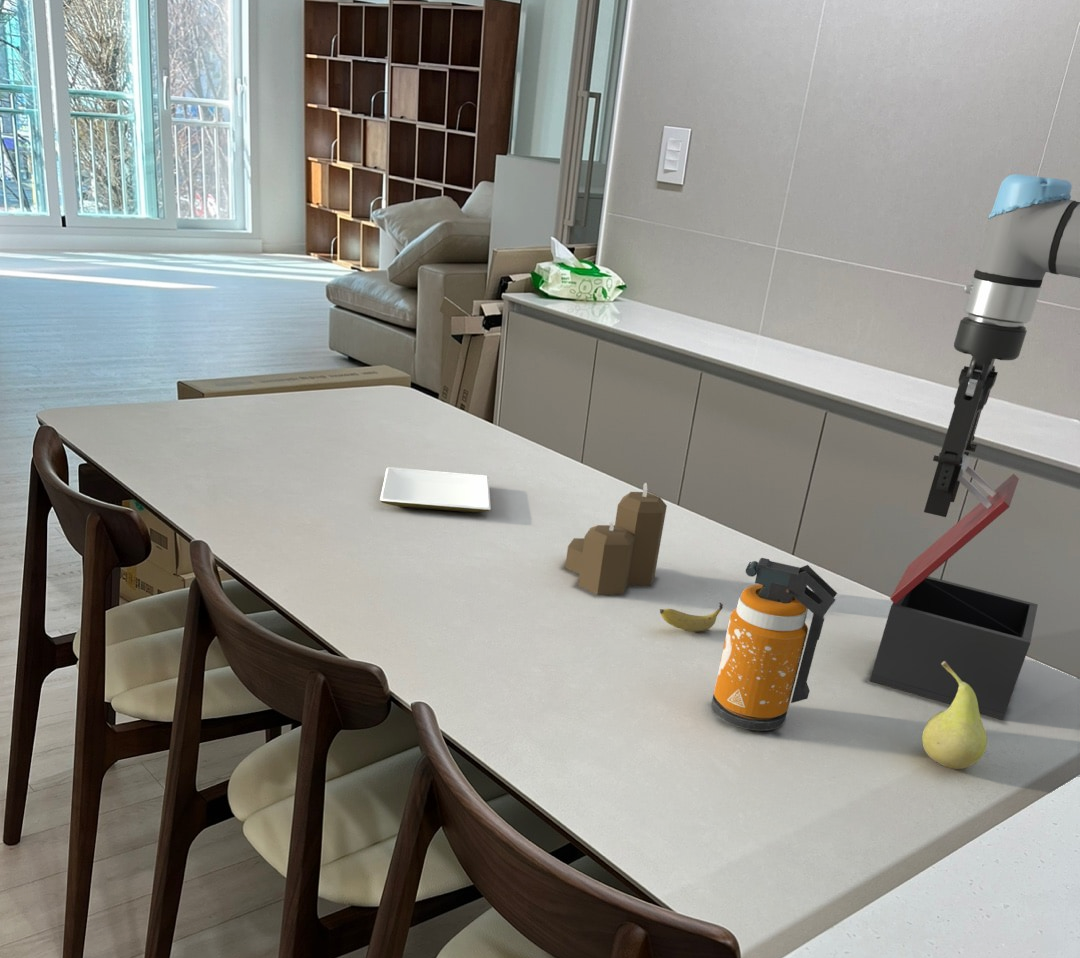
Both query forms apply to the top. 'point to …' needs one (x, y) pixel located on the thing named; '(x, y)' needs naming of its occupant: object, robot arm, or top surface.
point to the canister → (770, 645)
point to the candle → (620, 547)
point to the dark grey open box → (955, 643)
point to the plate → (436, 490)
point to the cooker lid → (959, 529)
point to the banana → (689, 620)
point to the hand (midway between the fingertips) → (939, 506)
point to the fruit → (956, 730)
